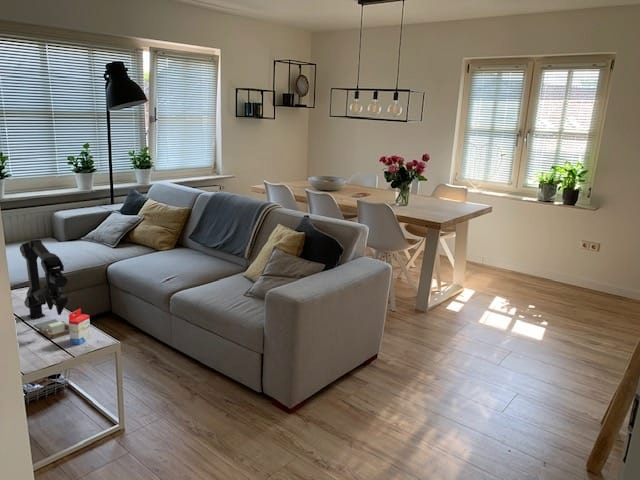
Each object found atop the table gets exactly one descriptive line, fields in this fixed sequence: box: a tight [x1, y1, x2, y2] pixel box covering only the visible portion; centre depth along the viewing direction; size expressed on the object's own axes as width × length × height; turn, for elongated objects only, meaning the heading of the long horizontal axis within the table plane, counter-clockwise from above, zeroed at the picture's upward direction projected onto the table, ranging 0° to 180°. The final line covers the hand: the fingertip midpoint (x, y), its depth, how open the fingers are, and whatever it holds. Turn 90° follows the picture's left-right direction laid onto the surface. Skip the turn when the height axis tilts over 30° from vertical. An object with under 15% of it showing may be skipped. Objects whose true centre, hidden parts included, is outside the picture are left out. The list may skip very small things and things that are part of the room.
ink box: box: [68, 308, 91, 346], centre depth 231 cm, size 8×5×15 cm, turn 168°
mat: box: [34, 318, 59, 330], centre depth 247 cm, size 8×10×1 cm
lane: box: [38, 320, 70, 340], centre depth 240 cm, size 13×11×2 cm
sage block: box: [47, 320, 66, 334], centre depth 241 cm, size 4×6×4 cm, turn 142°
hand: (55, 312), depth 239 cm, fingers open, 9 cm apart
